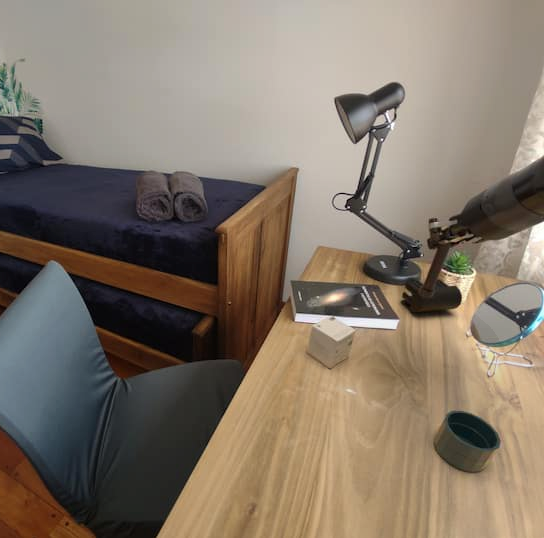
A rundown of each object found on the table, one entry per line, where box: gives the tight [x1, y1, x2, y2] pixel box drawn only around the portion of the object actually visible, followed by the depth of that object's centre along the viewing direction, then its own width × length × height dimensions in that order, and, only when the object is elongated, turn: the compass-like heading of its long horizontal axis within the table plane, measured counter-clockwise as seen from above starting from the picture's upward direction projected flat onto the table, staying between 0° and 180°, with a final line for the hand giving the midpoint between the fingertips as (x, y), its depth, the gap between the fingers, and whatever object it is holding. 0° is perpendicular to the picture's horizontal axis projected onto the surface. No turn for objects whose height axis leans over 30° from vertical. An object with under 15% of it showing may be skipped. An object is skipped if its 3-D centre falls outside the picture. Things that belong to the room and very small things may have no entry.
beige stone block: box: [306, 315, 356, 369], centre depth 73 cm, size 6×6×7 cm
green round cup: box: [433, 410, 502, 473], centre depth 55 cm, size 7×7×6 cm
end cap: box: [400, 278, 463, 313], centre depth 87 cm, size 10×7×7 cm
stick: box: [419, 242, 452, 298], centre depth 67 cm, size 2×2×14 cm
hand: (436, 244), depth 67 cm, fingers closed on stick, 2 cm apart
